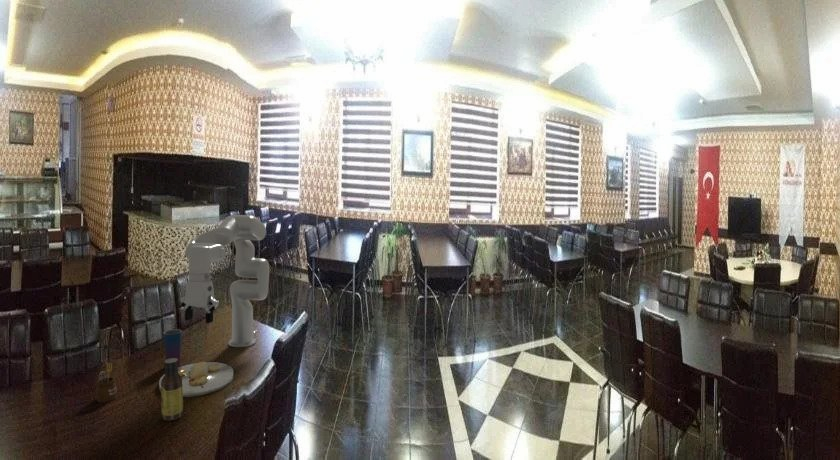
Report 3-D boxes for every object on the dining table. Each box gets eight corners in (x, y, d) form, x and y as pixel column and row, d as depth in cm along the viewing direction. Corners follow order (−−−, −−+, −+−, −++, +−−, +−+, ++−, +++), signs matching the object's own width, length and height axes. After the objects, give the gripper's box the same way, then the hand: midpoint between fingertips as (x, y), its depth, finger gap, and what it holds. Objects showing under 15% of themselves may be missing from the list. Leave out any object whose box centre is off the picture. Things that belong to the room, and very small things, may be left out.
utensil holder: (93, 403, 150) (92, 370, 149) (101, 395, 156) (100, 363, 155) (112, 402, 151) (111, 369, 150) (119, 393, 157) (119, 362, 156)
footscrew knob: (197, 377, 167) (197, 360, 167) (211, 380, 166) (211, 362, 165) (182, 385, 160) (182, 367, 160) (196, 388, 159) (196, 370, 158)
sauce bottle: (167, 412, 146) (166, 355, 144) (186, 411, 147) (185, 355, 145) (157, 422, 140) (156, 363, 138) (177, 422, 141) (177, 363, 139)
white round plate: (195, 364, 186) (195, 354, 185) (247, 373, 179) (247, 363, 178) (142, 390, 161) (142, 379, 160) (199, 402, 154) (199, 390, 153)
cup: (160, 366, 181) (159, 332, 180) (175, 361, 187) (175, 328, 186) (170, 370, 178) (169, 335, 177) (185, 365, 184) (185, 331, 183)
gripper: (225, 277, 166) (224, 321, 167) (189, 274, 171) (188, 316, 172) (210, 281, 159) (210, 326, 160) (173, 277, 164) (173, 321, 165)
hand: (199, 321), depth 166 cm, fingers open, 9 cm apart
